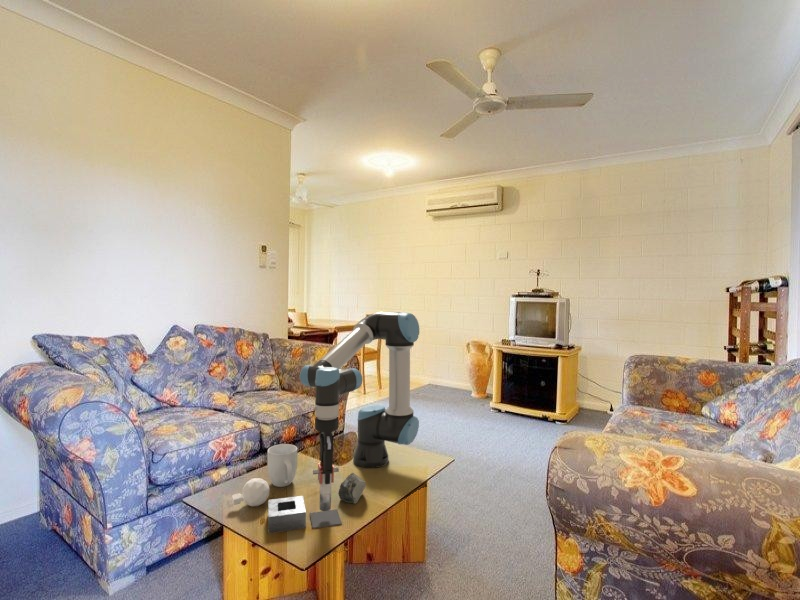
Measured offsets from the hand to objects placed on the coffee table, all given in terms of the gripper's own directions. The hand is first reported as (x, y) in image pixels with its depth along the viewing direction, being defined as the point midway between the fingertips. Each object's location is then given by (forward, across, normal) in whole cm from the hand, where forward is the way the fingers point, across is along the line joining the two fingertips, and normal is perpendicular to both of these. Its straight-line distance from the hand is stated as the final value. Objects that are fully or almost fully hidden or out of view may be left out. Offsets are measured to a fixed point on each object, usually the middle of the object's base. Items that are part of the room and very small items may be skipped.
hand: (325, 489), depth 138 cm
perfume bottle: (+10, -16, -23) cm, 30 cm away
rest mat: (+10, 0, 0) cm, 10 cm away
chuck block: (+10, -2, -12) cm, 16 cm away
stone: (+10, -10, +11) cm, 18 cm away
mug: (+10, -29, -12) cm, 33 cm away
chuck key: (+6, 0, 0) cm, 6 cm away
